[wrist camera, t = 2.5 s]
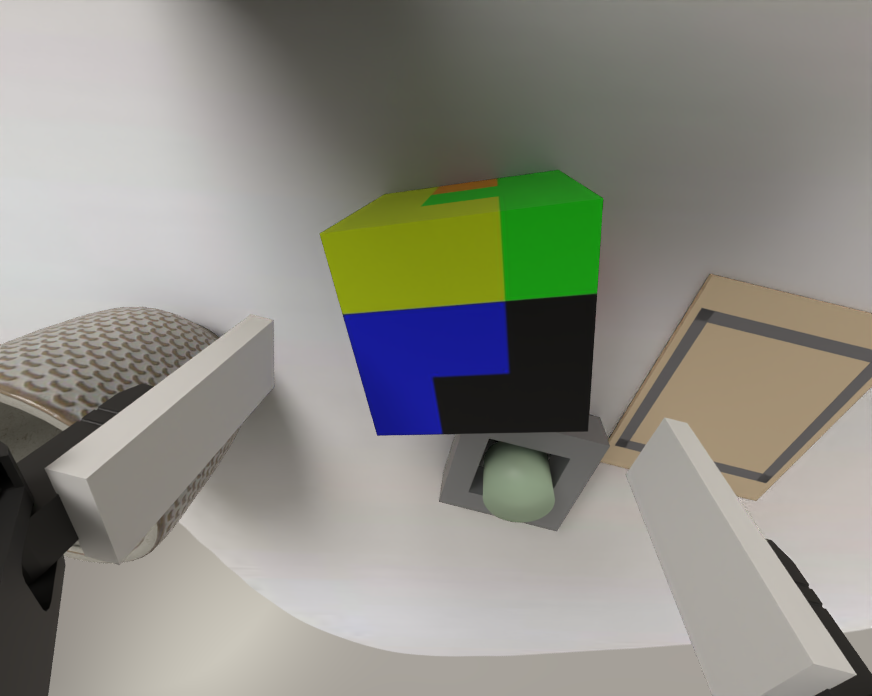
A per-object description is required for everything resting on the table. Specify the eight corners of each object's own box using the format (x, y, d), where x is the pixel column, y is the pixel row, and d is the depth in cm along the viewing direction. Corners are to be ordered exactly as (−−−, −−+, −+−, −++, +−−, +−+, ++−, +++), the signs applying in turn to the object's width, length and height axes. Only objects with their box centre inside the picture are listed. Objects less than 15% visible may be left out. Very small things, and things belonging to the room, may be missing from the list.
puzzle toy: (413, 340, 28) (377, 435, 19) (384, 194, 23) (319, 233, 14) (556, 330, 26) (587, 431, 17) (558, 169, 21) (603, 198, 12)
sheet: (709, 273, 23) (712, 275, 22) (924, 326, 22) (930, 328, 22) (596, 458, 31) (597, 461, 30) (753, 497, 31) (756, 501, 30)
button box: (471, 385, 29) (468, 410, 26) (599, 417, 29) (610, 445, 26) (443, 473, 34) (438, 501, 31) (552, 500, 34) (556, 531, 31)
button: (493, 431, 29) (493, 467, 26) (558, 447, 29) (566, 485, 26) (476, 475, 31) (474, 512, 28) (535, 490, 31) (540, 529, 28)
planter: (270, 443, 35) (166, 590, 24) (122, 393, 34) (-57, 520, 23) (289, 316, 28) (152, 441, 17) (102, 249, 27) (-171, 333, 16)
